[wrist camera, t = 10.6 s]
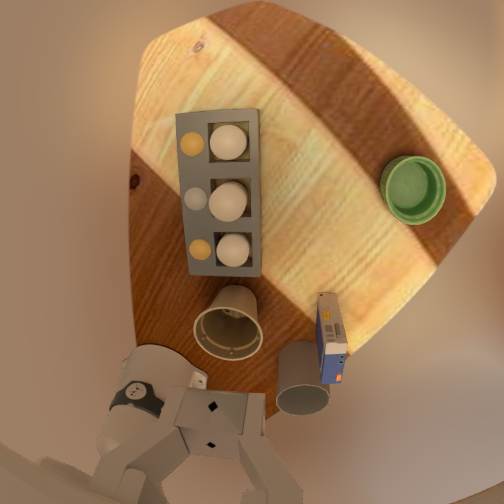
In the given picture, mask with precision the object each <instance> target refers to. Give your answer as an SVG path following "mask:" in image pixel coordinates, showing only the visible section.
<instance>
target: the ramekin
mask: <svg viewBox="0 0 504 504" xmlns="http://www.w3.org/2000/svg"><path fill="white" fill-rule="evenodd" d="M380 191H381V195H382V197H383V199H384V201H385V203H386V204H387V205H388V208H389V210H390V211H391V213H392V214H393V215H394V216H395V217H396V218H397V219H398V220H400V221H401V222H403V223H406V224H410V225H418V224H422V223H425V222H427V221H429V220H431V219H432V218H433V217H434V216H435V215H436V214H437V213H438V212H439V210H440V209H441V207H442V205H443V202H444V199H445V195H446V184H445V179H444V176H443V174H442V172H441V170H440V168H439V167H438V166H437V165H436V164H435V163H434V162H433V161H432V160H430V159H428V158H426V157H422V156H400V157H397V158H395V159H393V160H392V161H390V162H389V163H388V164H387V166H386V167H385V168H384V170H383V172H382V175H381V178H380Z"/></svg>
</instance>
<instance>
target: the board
mask: <svg viewBox="0 0 504 504" xmlns="http://www.w3.org/2000/svg"><path fill="white" fill-rule="evenodd" d="M175 115H176V136H177V152H178V167H179V180H180V192H181V203H182V214H183V224H184V233H185V242H186V251H187V259H188V267H189V275H203V276H233V277H260V275H261V269H262V248H261V176H260V123H259V109H232V110H215V111H202V112H190V113H181V114H175ZM243 121H249V138H250V159H232V160H214V153H213V152H212V150H211V147H210V138H211V135H212V134H213V123H220V122H243ZM226 178H250V179H251V211H244V212H243V214H242V215H241V216H240V217H239V218H238V219H236V220H234V221H231V222H224V221H221V220H219V219H217V218H216V217H214V215H213V214H212V213H211V211H210V208H209V199H210V196H211V194H212V193H213V192H214V191H215V190H216V181H215V179H226ZM219 232H252V258H247V260H246V262H245V263H244V264H242V265H240V266H237V267H230V266H227V265H225V264H223V263H222V262H221V261H220V260H219V258H218V256H217V246H218V244H219Z"/></svg>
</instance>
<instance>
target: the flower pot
mask: <svg viewBox="0 0 504 504" xmlns="http://www.w3.org/2000/svg"><path fill="white" fill-rule="evenodd" d="M225 309H228V310H230V312H227V311H226V310H225ZM193 332H194V336H195V339H196V341H197V343H198V344H199V345H200V346H201V348H202V349H203V350H205V351H206V352H207V353H209V354H211V355H212V356H215V357H217V358H220V359H224V360H230V361H236V360H242V359H245V358H248V357H250V356H252V355H253V354H255V353H256V352H257V351H258V350H259V349H260V347H261V345H262V341H263V333H262V329H261V327H260V325H259V323H258V317H257V301H256V297H255V295H254V294H253V292H252V291H251V290H249V289H248V288H246V287H244V286H241V285H239V286H238V285H229V286H226V287H224V288H223V289H222V290H221V291H220V292H219V293H218V295H217V297H216V298H215V299H214V301H213V302H212V304H211V305H210V307H209V308H208V309H206V310H205V311H203V312H202V313H201V314H200V315H199V316H198V317H197V319H196V320H195V323H194V327H193Z"/></svg>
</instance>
